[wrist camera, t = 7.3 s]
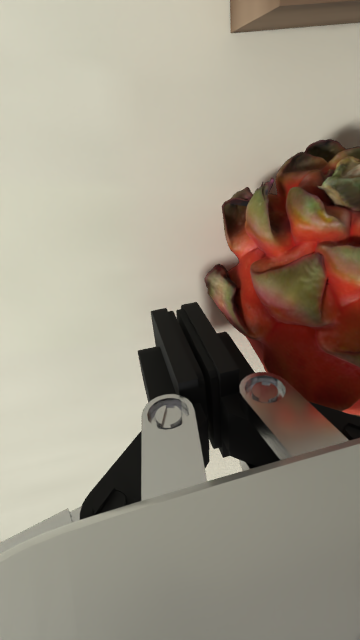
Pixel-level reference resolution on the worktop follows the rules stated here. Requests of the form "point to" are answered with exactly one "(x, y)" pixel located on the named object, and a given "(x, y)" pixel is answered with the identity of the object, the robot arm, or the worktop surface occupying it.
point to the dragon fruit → (299, 273)
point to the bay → (291, 14)
